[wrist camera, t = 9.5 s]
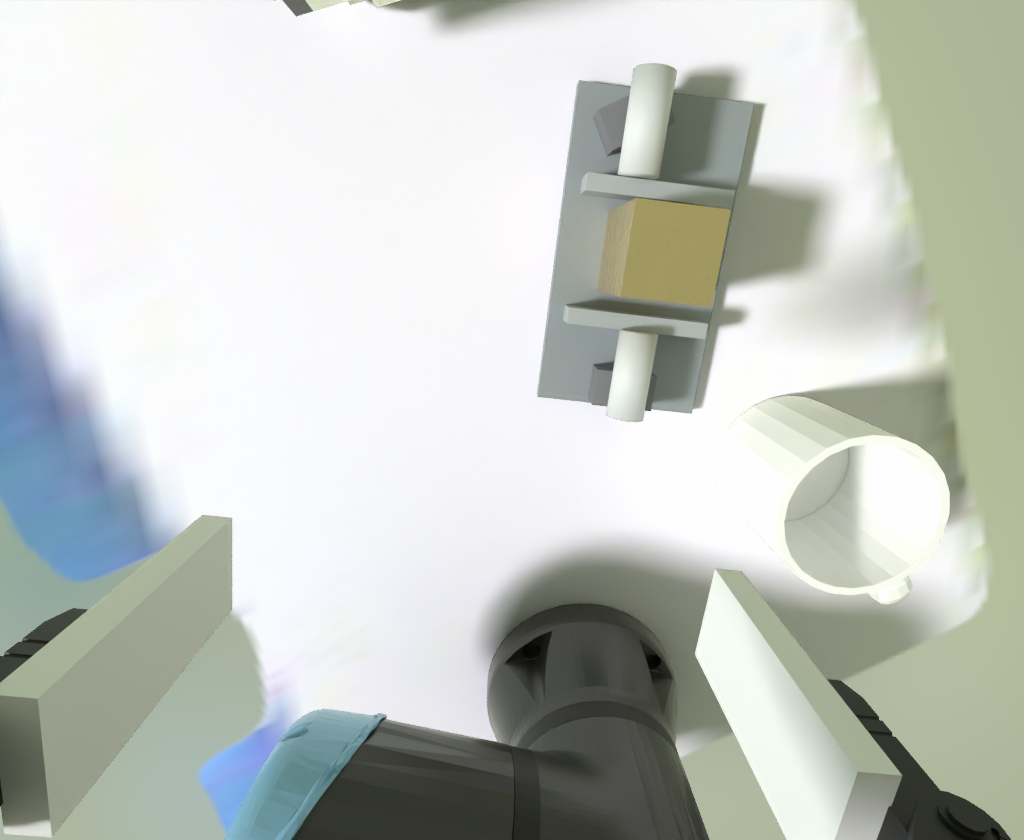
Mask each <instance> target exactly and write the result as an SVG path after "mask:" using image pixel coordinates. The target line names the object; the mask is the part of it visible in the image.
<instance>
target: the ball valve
mask: <svg viewBox="0 0 1024 840" xmlns="http://www.w3.org/2000/svg"><path fill="white" fill-rule="evenodd" d="M274 1H275V0H274ZM283 1H284V2H285V4H286V5H287V6H288V7H289V8H290V10H291V11H292V12H293V13H294V14H295V16H299V15H302V14H306V13H309V12H312V11H315V10H319V9H322V8H325V7H328V6H332V5H335V4H338V3H342V2H345V1H347V2H348V3H349V4H350V5H351V4H355V3H358V2H361V1H364V0H283ZM372 1H373V4H374V6H375V7H376V8H377V7H381V6H384V5H387V4H391V3H394V2H397V1H400V0H372Z"/></svg>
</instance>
